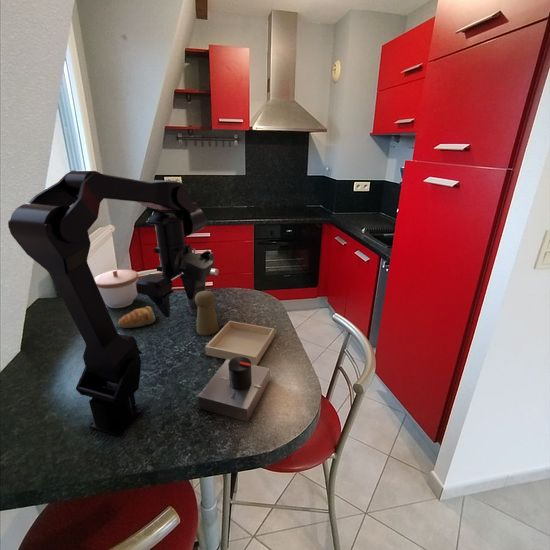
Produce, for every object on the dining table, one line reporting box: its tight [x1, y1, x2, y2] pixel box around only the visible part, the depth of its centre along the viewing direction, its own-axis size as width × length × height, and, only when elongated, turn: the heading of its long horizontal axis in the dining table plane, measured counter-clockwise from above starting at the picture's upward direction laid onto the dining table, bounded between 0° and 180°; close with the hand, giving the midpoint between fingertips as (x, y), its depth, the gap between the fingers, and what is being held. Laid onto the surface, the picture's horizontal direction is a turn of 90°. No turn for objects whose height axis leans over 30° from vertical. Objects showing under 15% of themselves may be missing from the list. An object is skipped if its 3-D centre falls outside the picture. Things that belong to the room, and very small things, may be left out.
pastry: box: [117, 305, 156, 329], centre depth 90 cm, size 9×7×4 cm
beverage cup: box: [184, 248, 207, 316], centre depth 93 cm, size 7×7×20 cm
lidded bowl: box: [94, 269, 139, 309], centre depth 100 cm, size 13×13×11 cm
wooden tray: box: [204, 320, 276, 366], centre depth 80 cm, size 13×13×2 cm
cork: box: [195, 290, 220, 336], centre depth 86 cm, size 6×6×11 cm
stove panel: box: [197, 359, 271, 422], centre depth 64 cm, size 12×10×3 cm
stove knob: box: [228, 357, 252, 390], centre depth 62 cm, size 4×4×5 cm
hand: (179, 307), depth 74 cm, fingers open, 9 cm apart
